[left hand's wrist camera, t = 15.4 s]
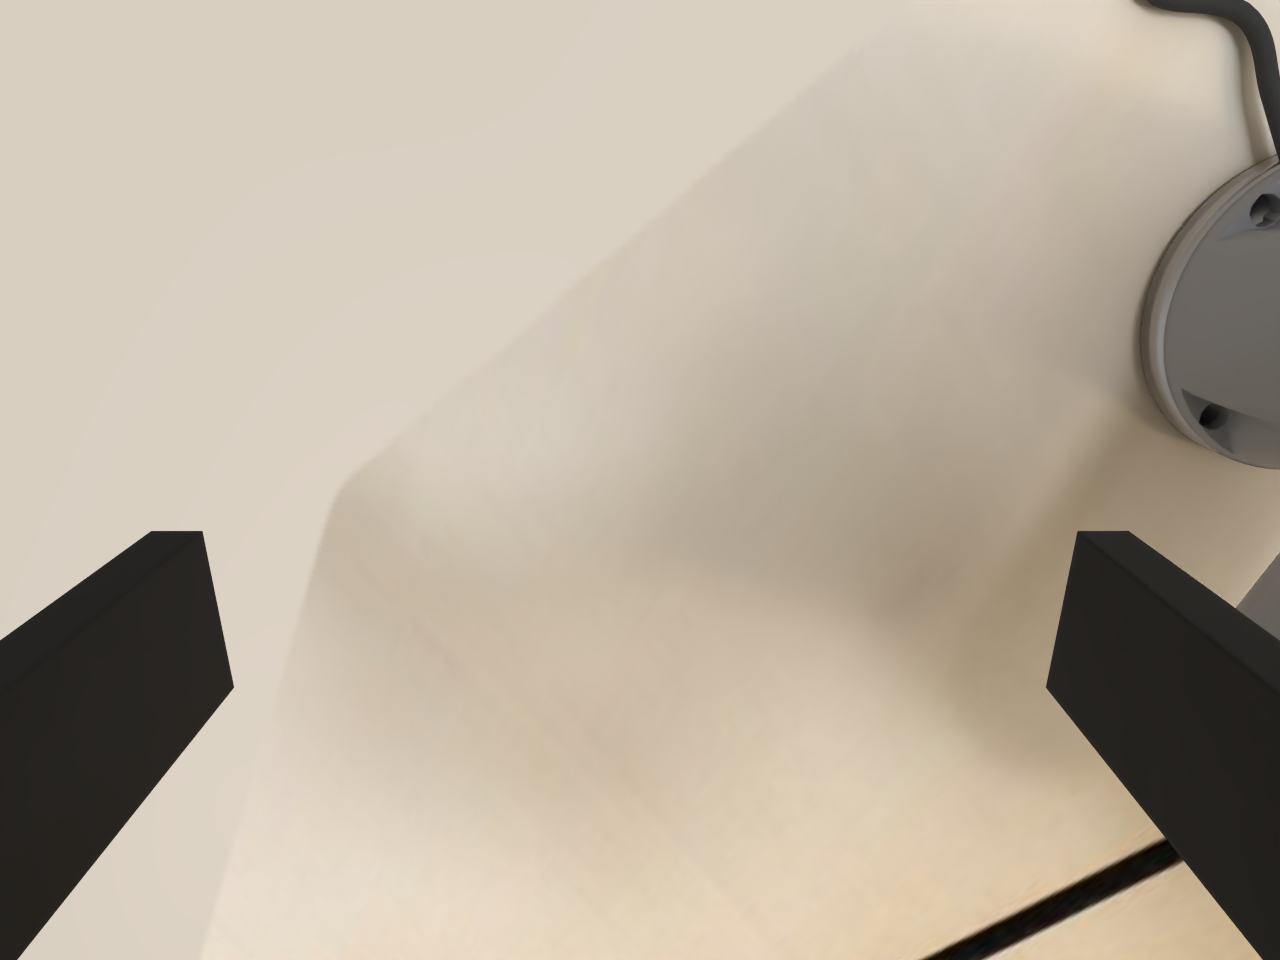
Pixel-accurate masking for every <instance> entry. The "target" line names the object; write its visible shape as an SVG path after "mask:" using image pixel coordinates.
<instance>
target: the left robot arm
mask: <svg viewBox="0 0 1280 960" xmlns="http://www.w3.org/2000/svg"><path fill="white" fill-rule="evenodd" d="M1147 1H1148V2H1150V3H1151V4H1152V5H1154V6H1156V7H1159V8H1162V9H1165V10H1170V11H1178V12H1190V13H1204V14H1212V15H1218V16H1221V17H1224V18H1227V19H1229V20H1231V21H1233V22H1234V23H1235V24H1236V25H1237V26H1239V27H1240V28H1241V30H1242V31H1243V32H1244V34H1245V36H1246V37H1247V40H1248V42H1249V44H1250V47H1251V51H1252V55H1253V60H1254V66H1255V72H1256V78H1257V84H1258V89H1259V93H1260V97H1261V101H1262V104H1263V107H1264V111H1265V114H1266V118H1267V121H1268V124H1269V128H1270V131H1271V135H1272V138H1273V142H1274V145H1275V148H1276V152H1277V155H1275V156H1273V157H1271V158H1269V159H1266V160H1264V161H1262V162H1260V163H1258V164H1257V165H1255V166H1253V167H1251V168H1249V169H1248V170H1246V171H1245V172H1243V173H1242V174H1240V175H1239V176H1237V177H1236V178H1234V179H1233V180H1231V181H1230V182H1228V183H1227V184H1226V185H1225V186H1223V187H1222V188H1221V189H1220V190H1218V191H1217V192H1216V193H1215V194H1214V195H1213V196H1212V197H1210V198H1209V199H1208V200H1207V201H1206V202H1205V203H1204V204H1203V205H1202V206H1201V207H1200V208H1199V209H1198V210H1197V211H1196V212H1195V214H1194V215H1193V216H1192V217H1191V218H1190V219H1189V220H1188V222H1187V223H1186V224H1185V225H1184V227H1183V228H1182V229H1181V230H1180V232H1179V233H1178V235H1177V236H1176V237H1175V239H1174V240H1173V242H1172V243H1171V245H1170V246H1169V248H1168V250H1167V252H1166V253H1165V255H1164V257H1163V259H1162V261H1161V262H1160V264H1159V267H1158V269H1157V271H1156V273H1155V275H1154V278H1153V280H1152V283H1151V286H1150V289H1149V292H1148V295H1147V299H1146V302H1145V306H1144V311H1143V317H1142V323H1141V337H1140V344H1141V358H1142V365H1143V370H1144V374H1145V378H1146V381H1147V384H1148V387H1149V389H1150V392H1151V394H1152V396H1153V398H1154V400H1155V402H1156V403H1157V405H1158V407H1159V408H1160V410H1161V411H1162V412H1163V414H1164V415H1165V417H1166V418H1167V419H1168V420H1169V421H1170V422H1171V423H1172V424H1173V425H1174V426H1175V427H1176V428H1177V429H1178V430H1179V431H1181V432H1182V433H1183V434H1184V435H1186V436H1187V437H1189V438H1190V439H1192V440H1193V441H1195V442H1197V443H1199V444H1201V445H1203V446H1205V447H1207V448H1209V449H1211V450H1213V451H1215V452H1217V453H1219V454H1221V455H1223V456H1226V457H1228V458H1230V459H1232V460H1235V461H1238V462H1241V463H1243V464H1247V465H1251V466H1255V467H1261V468H1268V469H1280V75H1279V69H1278V63H1277V56H1276V50H1275V45H1274V41H1273V37H1272V35H1271V32H1270V29H1269V27H1268V25H1267V23H1266V22H1265V20H1264V18H1263V17H1262V16H1261V14H1260V13H1259V12H1258V11H1257V10H1256V9H1255V8H1254V7H1253V6H1252V5H1251V4H1250V3H1248V2H1246V1H1244V0H1147ZM233 688H234V685H233V680H232V675H231V670H230V666H229V661H228V656H227V650H226V646H225V641H224V636H223V631H222V626H221V621H220V616H219V611H218V606H217V601H216V596H215V591H214V586H213V581H212V576H211V571H210V566H209V562H208V557H207V552H206V547H205V542H204V537H203V532H202V531H151V532H150V533H148V534H147V535H145V536H144V537H143V538H141V539H140V540H138V541H137V542H136V543H134V544H133V545H132V546H130V547H129V548H127V549H126V550H125V551H123V552H122V553H120V554H119V555H118V556H116V557H115V558H114V559H112V560H111V561H109V562H108V563H107V564H105V565H104V566H102V567H101V568H100V569H98V570H97V571H96V572H94V573H93V574H91V575H90V576H89V577H87V578H86V579H84V580H83V581H82V582H80V583H79V584H78V585H76V586H75V587H73V588H72V589H71V590H69V591H68V592H67V593H65V594H64V595H62V596H61V597H60V598H58V599H57V600H55V601H54V602H53V603H51V604H50V605H49V606H47V607H46V608H44V609H43V610H42V611H40V612H39V613H38V614H36V615H35V616H33V617H32V618H31V619H29V620H28V621H26V622H25V623H24V624H22V625H21V626H20V627H18V628H17V629H15V630H14V631H13V632H11V633H10V634H9V635H7V636H6V637H4V638H3V639H2V640H0V960H17V959H18V958H19V957H20V956H21V954H22V953H23V952H24V950H25V949H26V948H27V947H28V945H29V944H30V943H31V942H32V940H33V939H34V938H35V937H36V935H37V934H38V933H39V932H40V930H41V929H42V928H43V927H44V925H45V924H46V923H47V922H48V920H49V919H50V918H51V917H52V915H53V914H54V913H55V912H56V910H57V909H58V908H59V907H60V905H61V904H62V903H63V902H64V900H65V899H66V898H67V897H68V895H69V894H70V893H71V892H72V890H73V889H74V888H75V886H76V885H77V884H78V883H79V881H80V880H81V879H82V878H83V876H84V875H85V874H86V873H87V871H88V870H89V869H90V868H91V866H92V865H93V864H94V863H95V861H96V860H97V859H98V857H99V856H100V855H101V854H102V853H103V851H104V850H105V849H106V848H107V846H108V845H109V844H110V842H111V841H112V840H113V839H114V838H115V836H116V835H117V834H118V832H119V831H120V830H121V829H122V827H123V826H124V825H125V824H126V822H127V821H128V820H129V819H130V817H131V816H132V815H133V814H134V812H135V811H136V810H137V809H138V807H139V806H140V805H141V804H142V802H143V801H144V800H145V799H146V797H147V796H148V795H149V794H150V792H151V791H152V790H153V788H154V787H155V786H156V785H157V784H158V782H159V781H160V780H161V778H162V777H163V776H164V775H165V773H166V772H167V771H168V770H169V768H170V767H171V766H172V765H173V763H174V762H175V761H176V760H177V758H178V757H179V756H180V755H181V753H182V752H183V751H184V750H185V748H186V747H187V746H188V745H189V743H190V742H191V741H192V740H193V738H194V737H195V736H196V735H197V733H198V732H199V731H200V730H201V728H202V727H203V726H204V724H205V723H206V722H207V721H208V719H209V718H210V717H211V716H212V714H213V713H214V712H215V711H216V709H217V708H218V707H219V706H220V704H221V703H222V702H223V701H224V699H225V698H226V697H227V696H228V694H229V693H230V692H231V691H232V689H233ZM1046 688H1047V689H1048V691H1049V692H1050V693H1051V694H1052V696H1053V697H1054V698H1055V699H1056V701H1057V702H1058V703H1059V704H1060V706H1061V707H1062V708H1063V709H1064V711H1065V712H1066V713H1067V714H1068V716H1069V717H1070V718H1071V719H1072V721H1073V722H1074V723H1075V724H1076V726H1077V727H1078V728H1079V730H1080V731H1081V732H1082V733H1083V735H1084V736H1085V737H1086V738H1087V740H1088V741H1089V742H1090V743H1091V745H1092V746H1093V747H1094V748H1095V750H1096V751H1097V752H1098V753H1099V755H1100V756H1101V757H1102V758H1103V760H1104V761H1105V762H1106V763H1107V765H1108V766H1109V767H1110V768H1111V770H1112V771H1113V772H1114V773H1115V775H1116V776H1117V777H1118V778H1119V780H1120V781H1121V782H1122V784H1123V785H1124V786H1125V787H1126V789H1127V790H1128V791H1129V792H1130V794H1131V795H1132V796H1133V797H1134V799H1135V800H1136V801H1137V802H1138V804H1139V805H1140V806H1141V807H1142V809H1143V810H1144V811H1145V812H1146V814H1147V815H1148V816H1149V817H1150V819H1151V820H1152V821H1153V822H1154V824H1155V825H1156V826H1157V827H1158V829H1159V830H1160V831H1161V832H1162V834H1163V835H1164V836H1165V838H1166V839H1167V840H1168V841H1169V843H1170V844H1171V845H1172V846H1173V848H1174V849H1175V850H1176V851H1177V853H1178V854H1179V855H1180V856H1181V858H1182V859H1183V860H1184V861H1185V863H1186V864H1187V865H1188V866H1189V868H1190V869H1191V870H1192V871H1193V873H1194V874H1195V875H1196V876H1197V878H1198V879H1199V880H1200V881H1201V883H1202V884H1203V885H1204V886H1205V888H1206V889H1207V890H1208V892H1209V893H1210V894H1211V895H1212V897H1213V898H1214V899H1215V900H1216V902H1217V903H1218V904H1219V905H1220V907H1221V908H1222V909H1223V910H1224V912H1225V913H1226V914H1227V915H1228V917H1229V918H1230V919H1231V920H1232V922H1233V923H1234V924H1235V925H1236V927H1237V928H1238V929H1239V930H1240V932H1241V933H1242V934H1243V935H1244V937H1245V938H1246V939H1247V940H1248V942H1249V943H1250V944H1251V945H1252V947H1253V948H1254V949H1255V951H1256V952H1257V953H1258V954H1259V956H1260V957H1261V958H1262V959H1263V960H1280V553H1279V554H1278V555H1277V557H1276V558H1275V559H1274V560H1273V562H1272V563H1271V564H1270V566H1269V567H1268V568H1267V569H1266V571H1265V572H1264V573H1263V574H1262V576H1261V577H1260V578H1259V579H1258V581H1257V582H1256V583H1255V584H1254V586H1253V587H1252V588H1251V590H1250V591H1249V592H1248V593H1247V595H1246V596H1245V597H1244V598H1243V600H1242V601H1241V602H1240V603H1239V605H1238V606H1237V607H1236V608H1234V607H1233V606H1231V605H1230V604H1229V603H1227V602H1226V601H1225V600H1223V599H1222V598H1220V597H1219V596H1218V595H1216V594H1215V593H1213V592H1212V591H1211V590H1209V589H1208V588H1207V587H1205V586H1204V585H1202V584H1201V583H1200V582H1198V581H1197V580H1196V579H1194V578H1193V577H1191V576H1190V575H1189V574H1187V573H1186V572H1184V571H1183V570H1182V569H1180V568H1179V567H1178V566H1176V565H1175V564H1173V563H1172V562H1171V561H1169V560H1168V559H1166V558H1165V557H1164V556H1162V555H1161V554H1160V553H1158V552H1157V551H1155V550H1154V549H1153V548H1151V547H1150V546H1149V545H1147V544H1146V543H1144V542H1143V541H1142V540H1140V539H1139V538H1137V537H1136V536H1135V535H1133V534H1132V533H1131V532H1129V531H1078V532H1077V537H1076V542H1075V547H1074V552H1073V556H1072V561H1071V566H1070V571H1069V576H1068V581H1067V586H1066V591H1065V596H1064V601H1063V606H1062V611H1061V616H1060V621H1059V626H1058V631H1057V636H1056V641H1055V646H1054V650H1053V655H1052V660H1051V665H1050V670H1049V675H1048V680H1047V685H1046Z"/></svg>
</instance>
